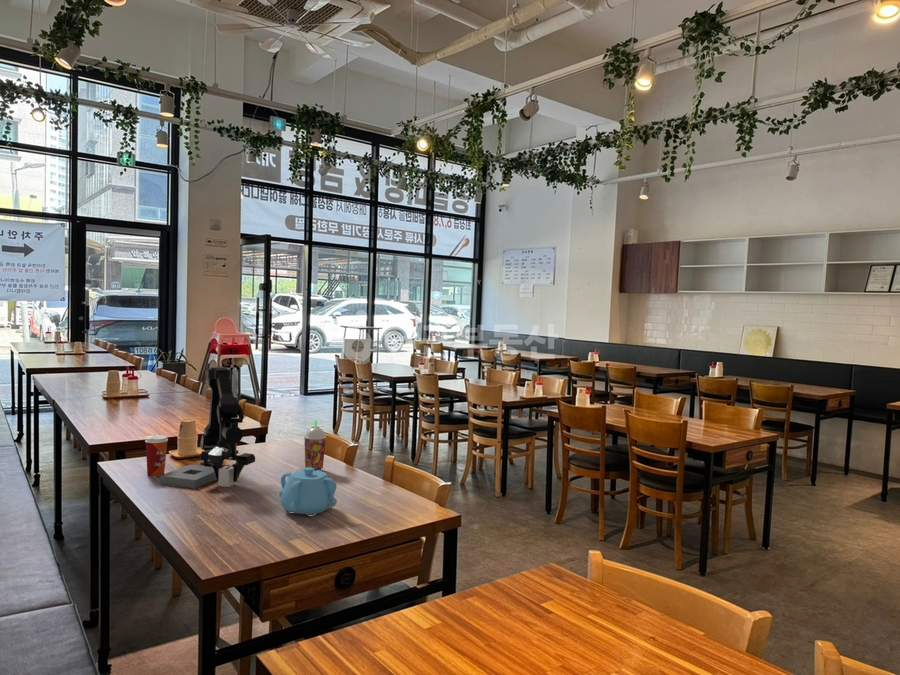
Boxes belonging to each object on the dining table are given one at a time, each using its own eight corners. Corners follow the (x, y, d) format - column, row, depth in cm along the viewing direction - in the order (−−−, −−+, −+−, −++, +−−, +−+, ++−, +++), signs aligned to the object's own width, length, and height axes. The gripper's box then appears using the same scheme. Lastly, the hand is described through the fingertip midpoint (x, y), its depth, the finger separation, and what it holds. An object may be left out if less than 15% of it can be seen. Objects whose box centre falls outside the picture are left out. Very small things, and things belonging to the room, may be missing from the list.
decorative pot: (328, 500, 203) (329, 460, 203) (338, 516, 188) (340, 473, 188) (278, 504, 197) (279, 463, 196) (284, 521, 182) (286, 476, 181)
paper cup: (161, 478, 218) (162, 439, 218) (140, 477, 218) (140, 438, 218) (171, 472, 226) (172, 435, 226) (150, 471, 226) (151, 434, 226)
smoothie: (301, 468, 239) (302, 418, 238) (322, 467, 243) (324, 418, 242) (305, 474, 232) (307, 422, 231) (327, 473, 235) (329, 422, 234)
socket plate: (189, 472, 227) (189, 464, 227) (222, 476, 224) (222, 468, 224) (159, 484, 212) (160, 475, 211) (195, 488, 208) (195, 480, 208)
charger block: (225, 482, 217) (225, 465, 217) (235, 483, 216) (235, 466, 216) (218, 485, 213) (218, 468, 213) (228, 487, 212) (229, 469, 212)
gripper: (190, 439, 208) (189, 484, 209) (238, 444, 204) (237, 490, 205) (210, 433, 219) (208, 475, 220) (256, 438, 215) (255, 481, 216)
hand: (226, 480), depth 215 cm, fingers open, 6 cm apart
